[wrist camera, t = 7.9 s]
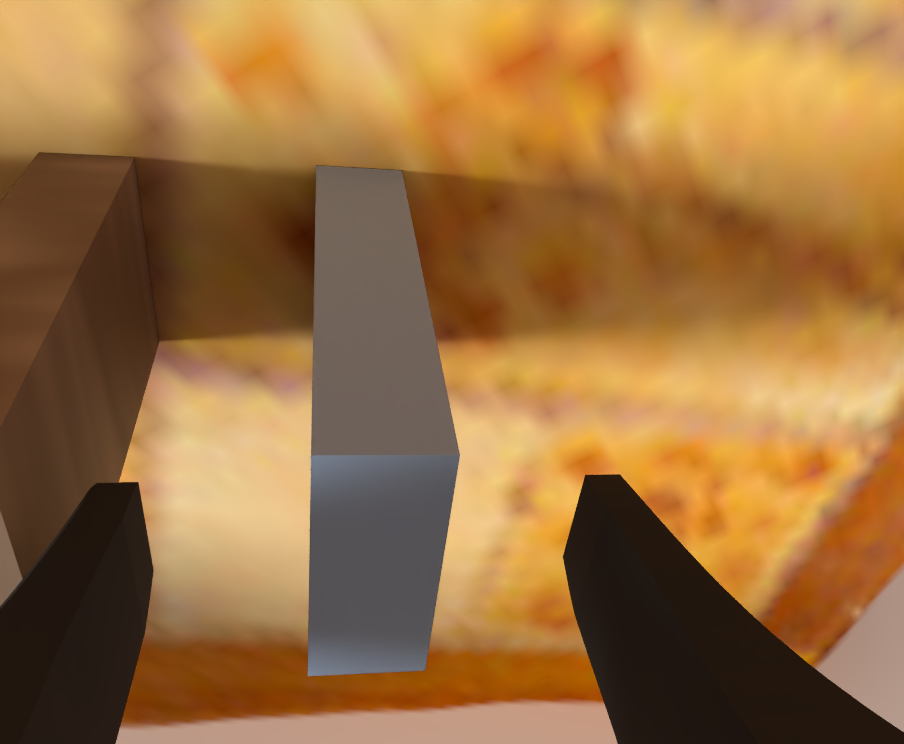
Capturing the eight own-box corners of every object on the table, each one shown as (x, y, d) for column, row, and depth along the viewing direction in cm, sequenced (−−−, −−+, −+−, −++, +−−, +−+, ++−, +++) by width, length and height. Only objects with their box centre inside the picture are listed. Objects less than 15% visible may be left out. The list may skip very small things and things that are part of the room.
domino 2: (401, 170, 19) (460, 455, 11) (387, 344, 22) (425, 670, 14) (316, 165, 18) (310, 455, 11) (313, 343, 21) (307, 676, 13)
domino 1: (134, 157, 18) (-16, 460, 10) (159, 342, 21) (58, 690, 13) (38, 152, 18) (-197, 461, 10) (77, 340, 20) (-78, 698, 12)
